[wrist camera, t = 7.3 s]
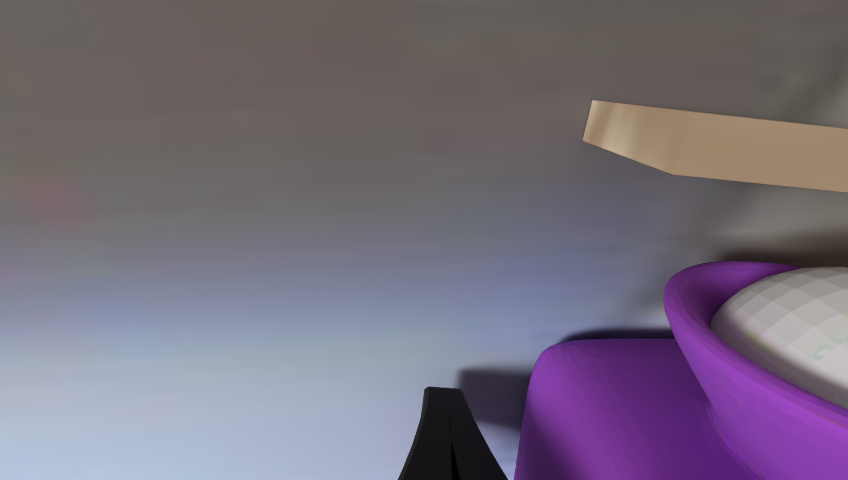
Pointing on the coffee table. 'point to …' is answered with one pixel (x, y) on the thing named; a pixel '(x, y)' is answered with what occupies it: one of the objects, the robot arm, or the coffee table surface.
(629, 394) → the toy camera
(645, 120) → the wooden tray
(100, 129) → the coffee table surface
